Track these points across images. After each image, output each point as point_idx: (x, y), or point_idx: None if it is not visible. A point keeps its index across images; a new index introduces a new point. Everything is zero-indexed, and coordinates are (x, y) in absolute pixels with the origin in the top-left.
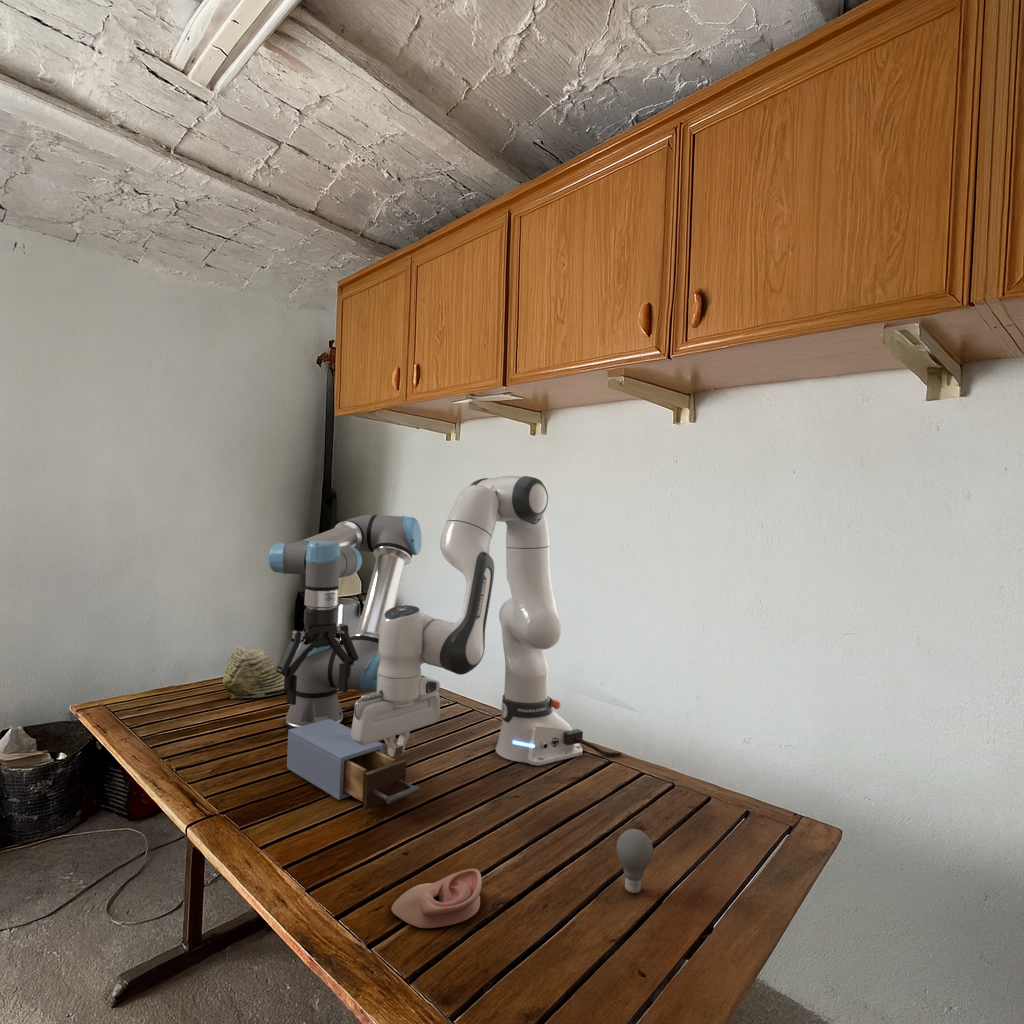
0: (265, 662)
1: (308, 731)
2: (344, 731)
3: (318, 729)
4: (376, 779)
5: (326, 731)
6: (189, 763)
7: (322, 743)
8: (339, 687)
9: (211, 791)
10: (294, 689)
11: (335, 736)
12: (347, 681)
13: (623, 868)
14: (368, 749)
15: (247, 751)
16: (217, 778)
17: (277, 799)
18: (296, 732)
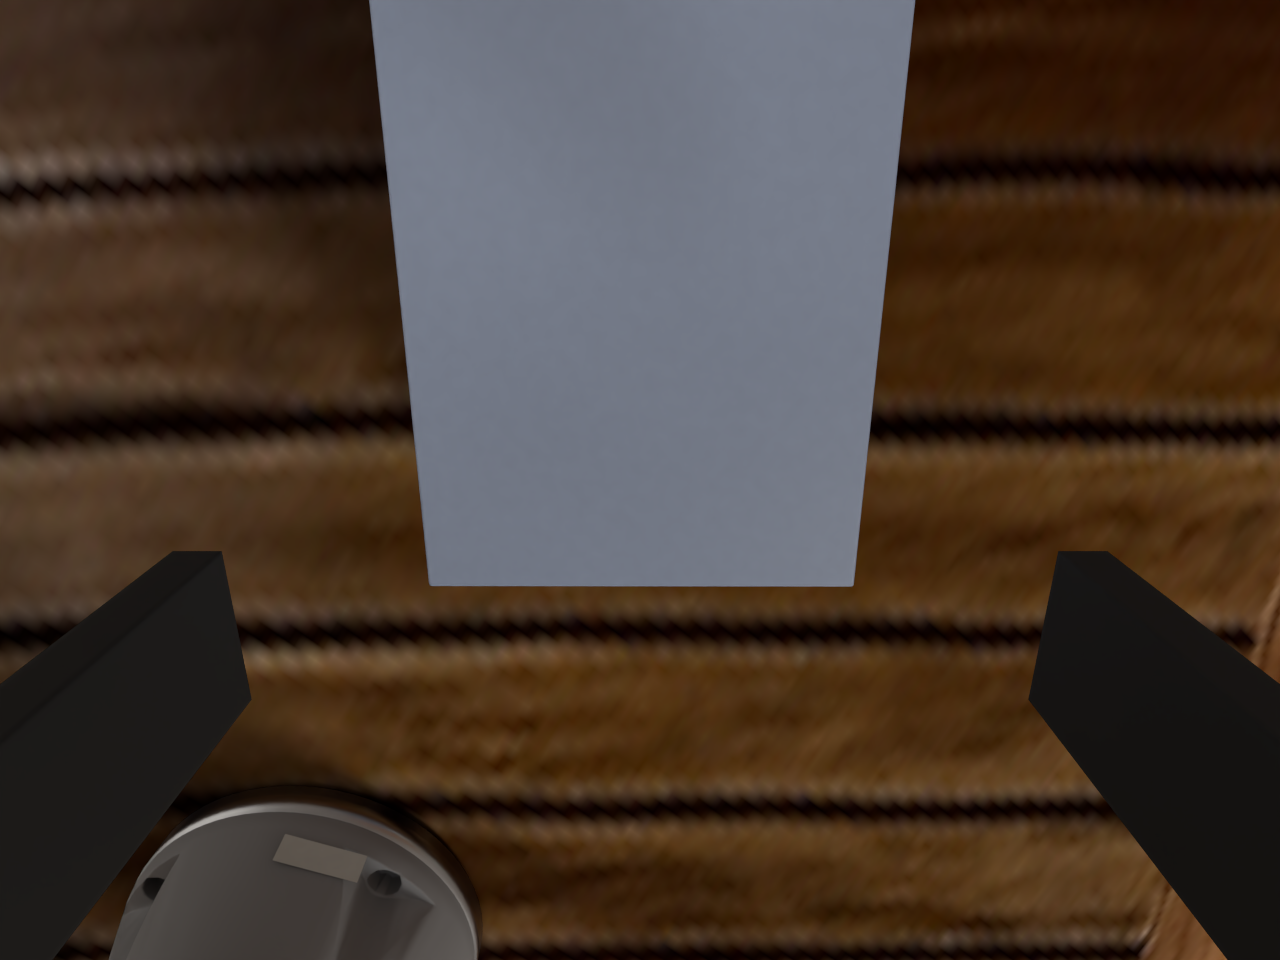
0: None
1: (753, 437)
2: (487, 200)
3: (656, 421)
4: None
5: (627, 325)
6: (1097, 839)
7: (847, 50)
8: (222, 708)
9: (1254, 476)
10: (1256, 684)
11: (633, 139)
12: (59, 643)
13: None
14: None
15: (812, 800)
16: None
17: (1102, 98)
18: (844, 485)
